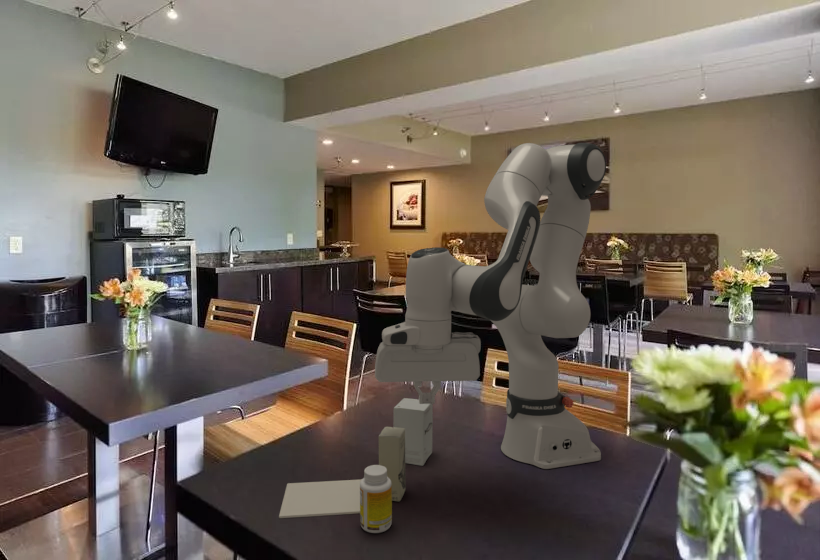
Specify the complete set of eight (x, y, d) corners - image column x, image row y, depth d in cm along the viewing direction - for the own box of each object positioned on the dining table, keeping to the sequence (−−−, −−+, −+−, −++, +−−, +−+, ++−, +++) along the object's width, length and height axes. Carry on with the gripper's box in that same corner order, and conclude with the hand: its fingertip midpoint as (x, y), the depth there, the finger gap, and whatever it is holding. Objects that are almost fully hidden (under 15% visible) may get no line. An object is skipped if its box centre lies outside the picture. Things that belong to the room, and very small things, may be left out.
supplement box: (424, 466, 112) (424, 410, 111) (392, 461, 115) (392, 407, 113) (433, 452, 119) (433, 400, 118) (403, 448, 121) (403, 396, 120)
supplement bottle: (398, 525, 90) (398, 469, 89) (375, 538, 86) (374, 480, 85) (376, 513, 94) (376, 459, 93) (353, 525, 90) (352, 470, 89)
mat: (375, 480, 106) (375, 478, 106) (378, 512, 94) (378, 510, 94) (287, 485, 104) (287, 483, 104) (279, 518, 92) (278, 516, 92)
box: (400, 502, 97) (400, 437, 96) (378, 500, 98) (377, 435, 97) (406, 489, 102) (406, 427, 101) (385, 486, 103) (384, 425, 102)
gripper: (477, 329, 102) (475, 396, 103) (374, 329, 100) (374, 398, 101) (485, 335, 96) (483, 407, 97) (376, 336, 94) (375, 409, 95)
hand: (426, 402), depth 99 cm, fingers closed
